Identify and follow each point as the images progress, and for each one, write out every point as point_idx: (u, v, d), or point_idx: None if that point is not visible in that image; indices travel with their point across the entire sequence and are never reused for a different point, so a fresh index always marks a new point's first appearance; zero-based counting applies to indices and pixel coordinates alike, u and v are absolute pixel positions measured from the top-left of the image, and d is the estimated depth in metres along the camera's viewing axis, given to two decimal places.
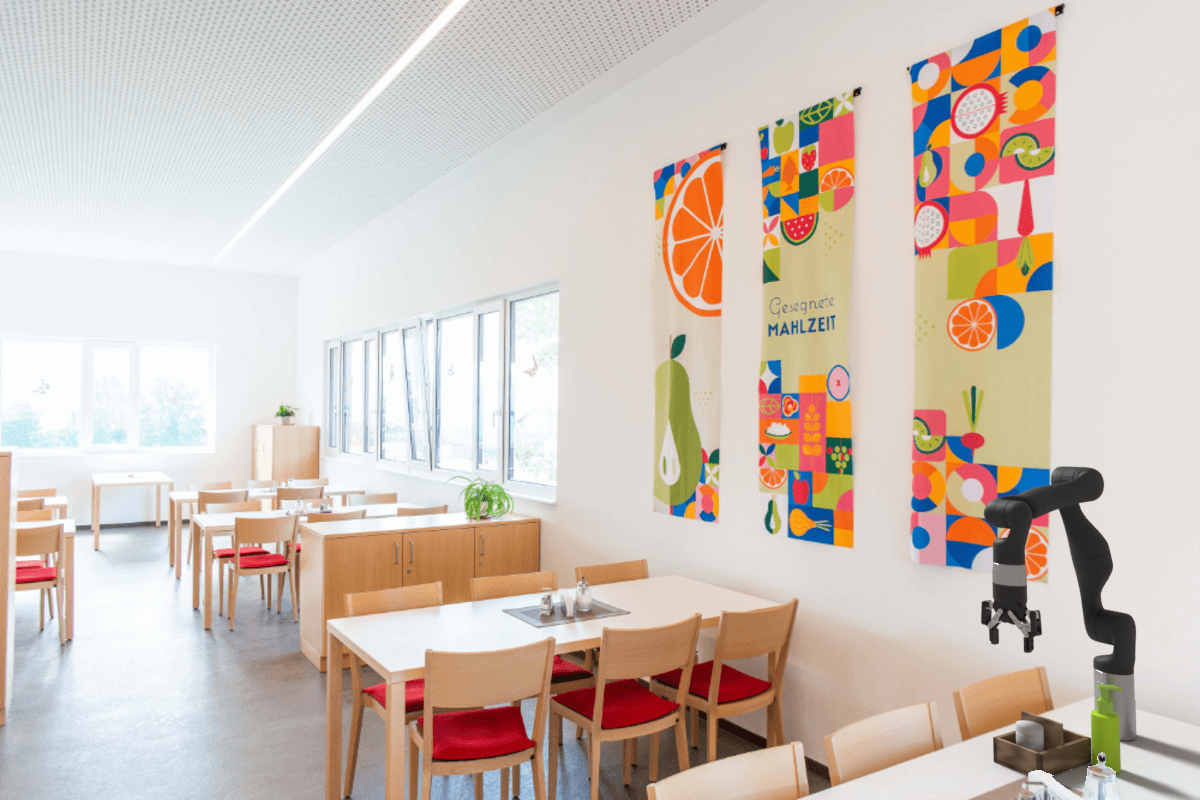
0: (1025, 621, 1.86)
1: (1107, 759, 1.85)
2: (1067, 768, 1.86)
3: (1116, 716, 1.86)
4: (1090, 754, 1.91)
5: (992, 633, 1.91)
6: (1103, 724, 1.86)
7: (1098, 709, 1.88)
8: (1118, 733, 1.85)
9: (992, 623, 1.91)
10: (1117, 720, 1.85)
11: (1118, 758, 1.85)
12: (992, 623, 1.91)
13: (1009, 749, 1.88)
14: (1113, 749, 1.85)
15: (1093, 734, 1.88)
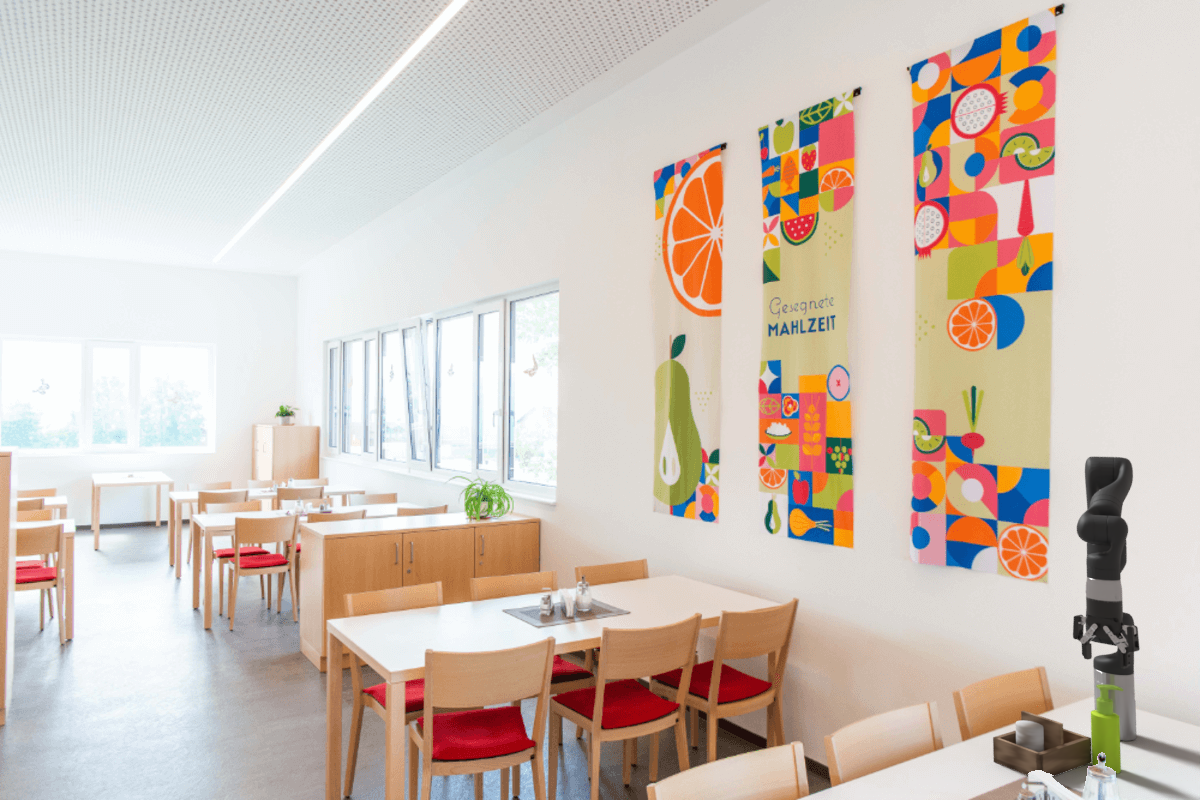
0: (1121, 636, 1.87)
1: (1107, 759, 1.85)
2: (1067, 768, 1.86)
3: (1116, 716, 1.86)
4: (1090, 754, 1.91)
5: (1085, 648, 1.92)
6: (1103, 724, 1.86)
7: (1098, 709, 1.88)
8: (1118, 733, 1.85)
9: (1085, 638, 1.92)
10: (1117, 720, 1.85)
11: (1118, 758, 1.85)
12: (1086, 638, 1.92)
13: (1009, 749, 1.88)
14: (1113, 749, 1.85)
15: (1093, 734, 1.88)
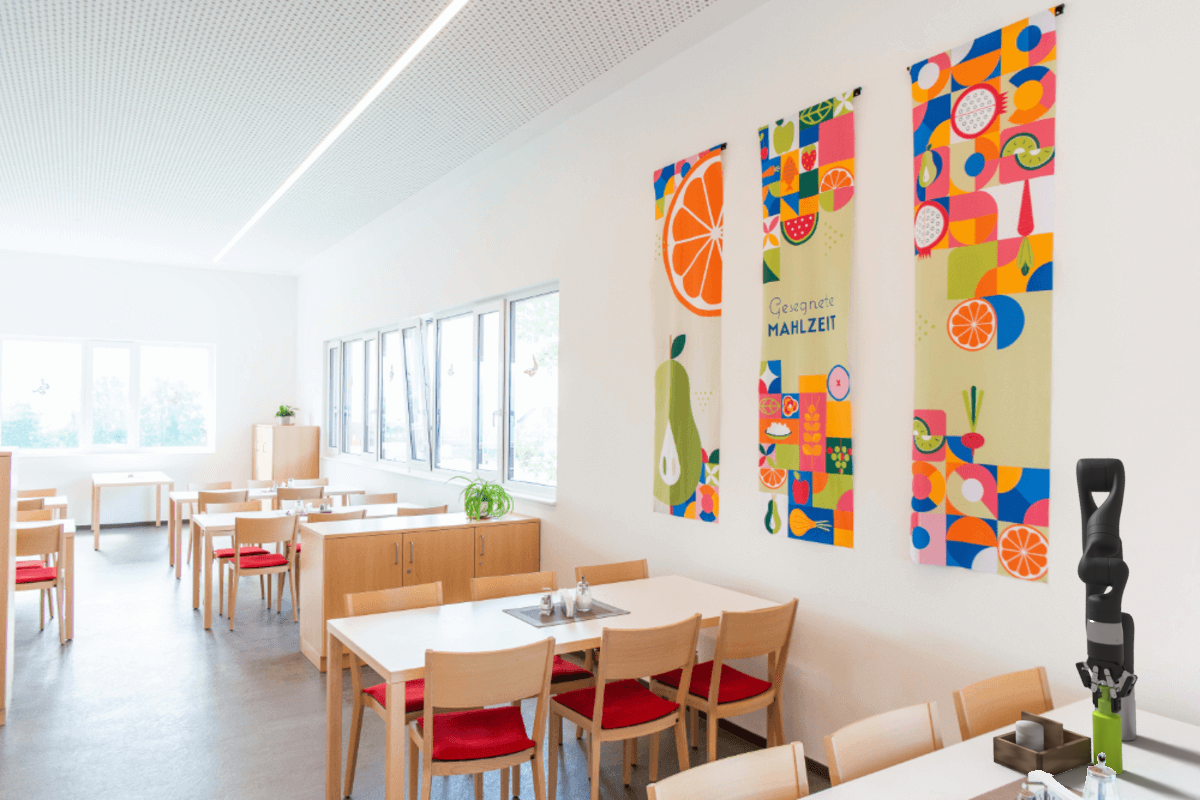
0: (1117, 680, 1.87)
1: (1109, 760, 1.85)
2: (1067, 768, 1.86)
3: (1118, 716, 1.86)
4: (1090, 754, 1.91)
5: (1096, 697, 1.89)
6: (1105, 724, 1.85)
7: (1099, 709, 1.88)
8: (1120, 733, 1.85)
9: (1096, 687, 1.89)
10: (1119, 720, 1.85)
11: (1120, 758, 1.85)
12: (1094, 685, 1.89)
13: (1009, 749, 1.88)
14: (1115, 749, 1.84)
15: (1095, 734, 1.87)
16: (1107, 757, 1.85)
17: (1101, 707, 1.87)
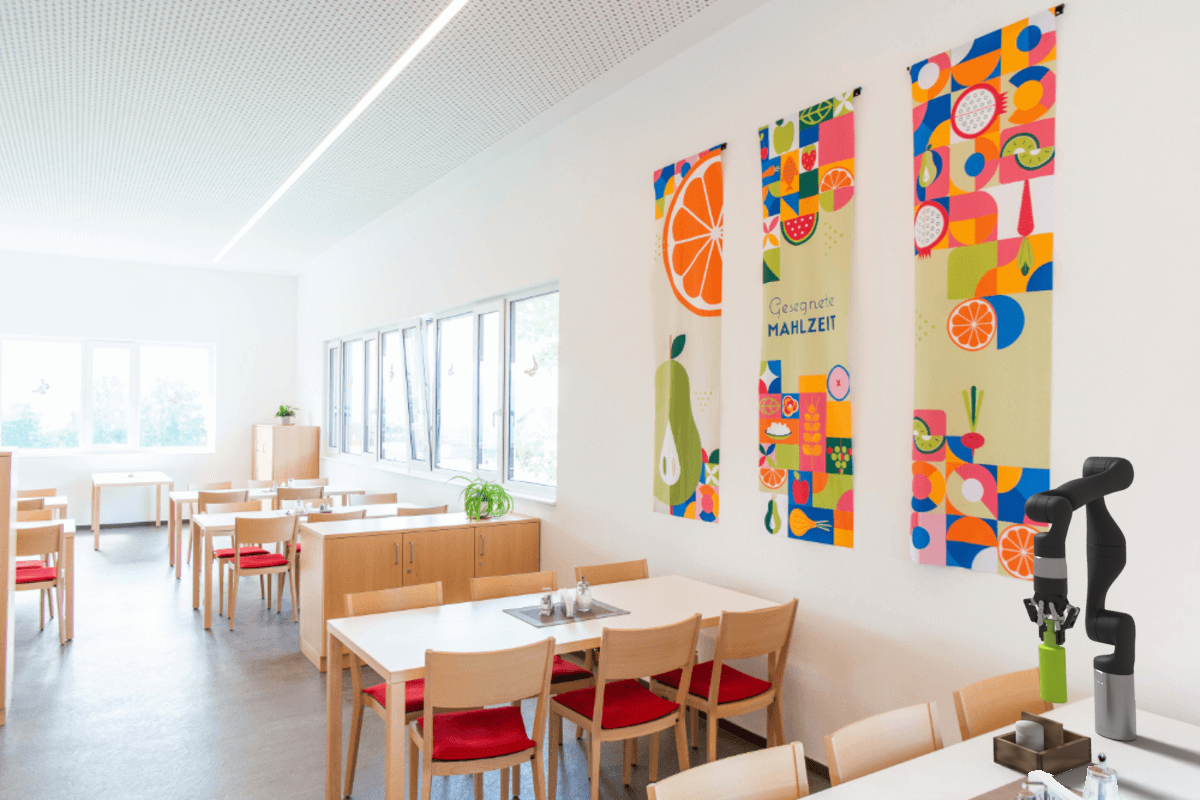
0: (1062, 614, 1.94)
1: (1054, 690, 1.91)
2: (1067, 768, 1.86)
3: (1062, 648, 1.92)
4: (1090, 754, 1.91)
5: (1042, 630, 1.96)
6: (1050, 656, 1.92)
7: (1045, 642, 1.94)
8: (1064, 664, 1.92)
9: (1042, 620, 1.96)
10: (1063, 652, 1.92)
11: (1064, 688, 1.91)
12: (1040, 619, 1.96)
13: (1009, 749, 1.88)
14: (1059, 679, 1.91)
15: (1041, 666, 1.94)
16: (1052, 687, 1.91)
17: (1046, 640, 1.94)
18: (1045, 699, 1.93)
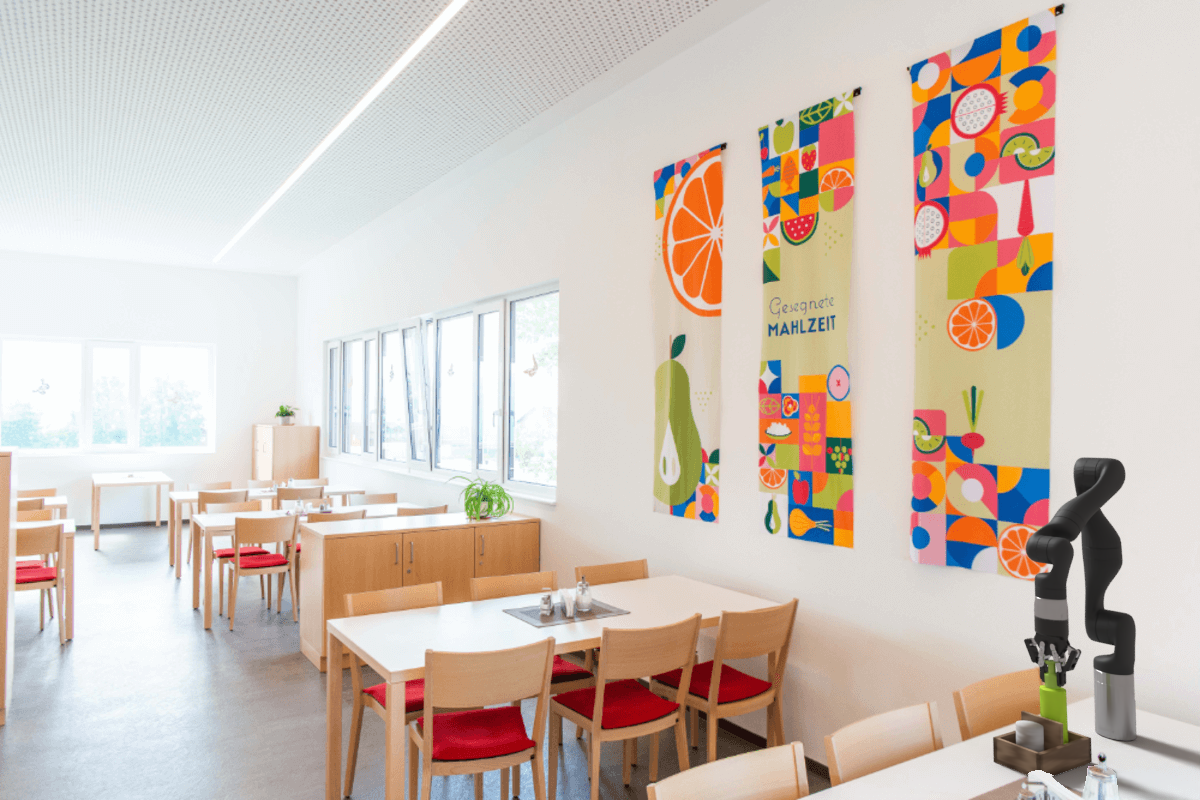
0: (1063, 655, 1.93)
1: None
2: (1067, 768, 1.86)
3: (1063, 690, 1.92)
4: (1090, 754, 1.91)
5: (1043, 671, 1.95)
6: (1051, 698, 1.91)
7: (1046, 683, 1.94)
8: (1065, 706, 1.91)
9: (1043, 661, 1.95)
10: (1064, 693, 1.91)
11: (1065, 730, 1.91)
12: (1041, 660, 1.96)
13: (1009, 749, 1.88)
14: (1060, 722, 1.91)
15: (1042, 707, 1.93)
16: None
17: (1047, 681, 1.93)
18: None
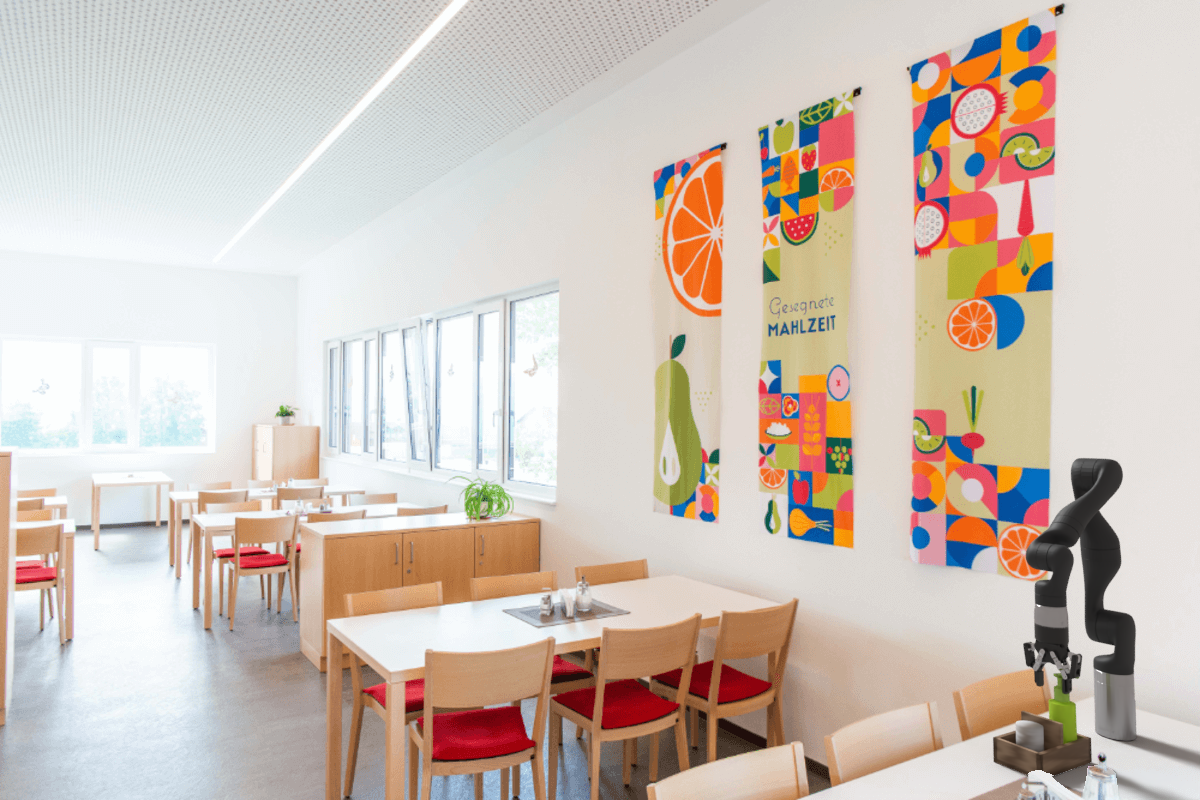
0: (1065, 662, 1.93)
1: None
2: (1067, 768, 1.86)
3: (1073, 703, 1.91)
4: (1090, 754, 1.91)
5: (1037, 675, 1.97)
6: (1061, 711, 1.91)
7: (1056, 697, 1.93)
8: (1075, 720, 1.91)
9: (1037, 666, 1.96)
10: (1074, 707, 1.91)
11: None
12: (1037, 665, 1.97)
13: (1009, 749, 1.88)
14: (1071, 736, 1.90)
15: None
16: (1064, 743, 1.90)
17: (1057, 695, 1.93)
18: None
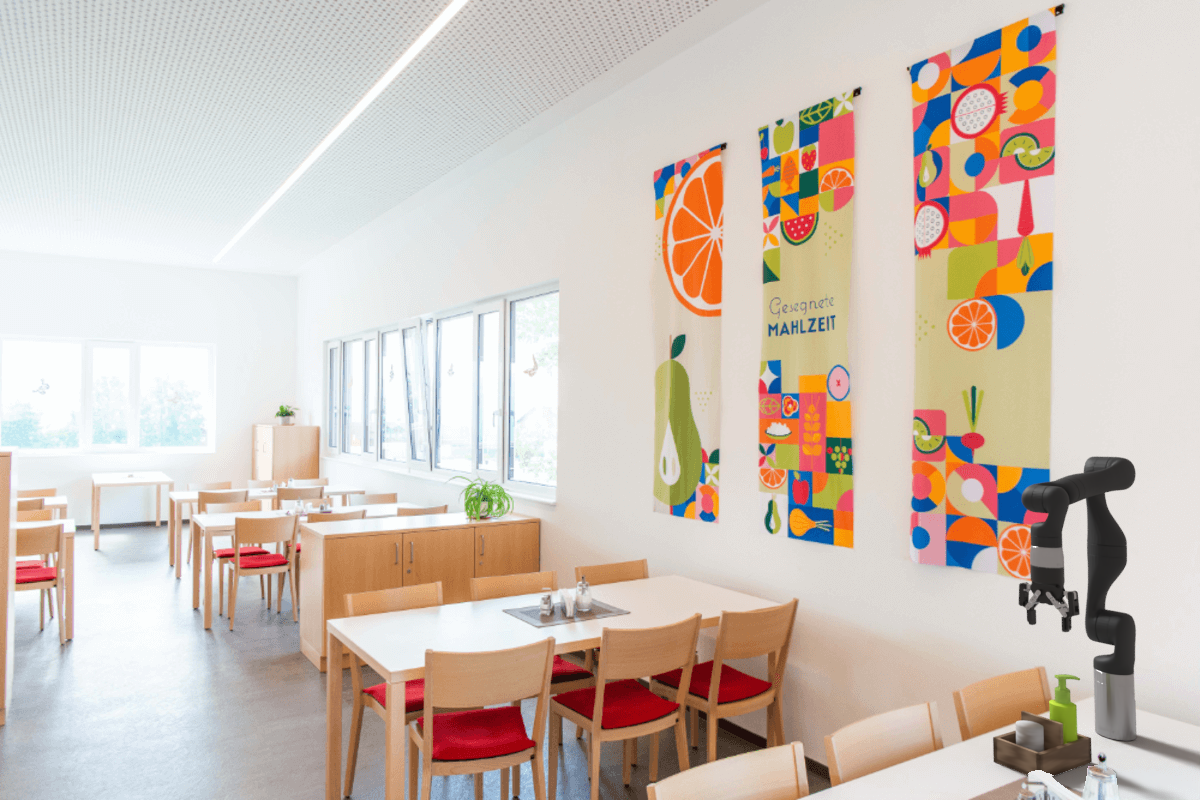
0: (1062, 602, 1.94)
1: None
2: (1067, 768, 1.86)
3: (1074, 705, 1.91)
4: (1090, 754, 1.91)
5: (1030, 614, 1.99)
6: (1062, 713, 1.90)
7: (1056, 698, 1.92)
8: (1076, 721, 1.90)
9: (1030, 604, 1.99)
10: (1075, 709, 1.90)
11: None
12: (1030, 604, 1.99)
13: (1009, 749, 1.88)
14: (1071, 737, 1.89)
15: None
16: None
17: (1058, 696, 1.92)
18: None
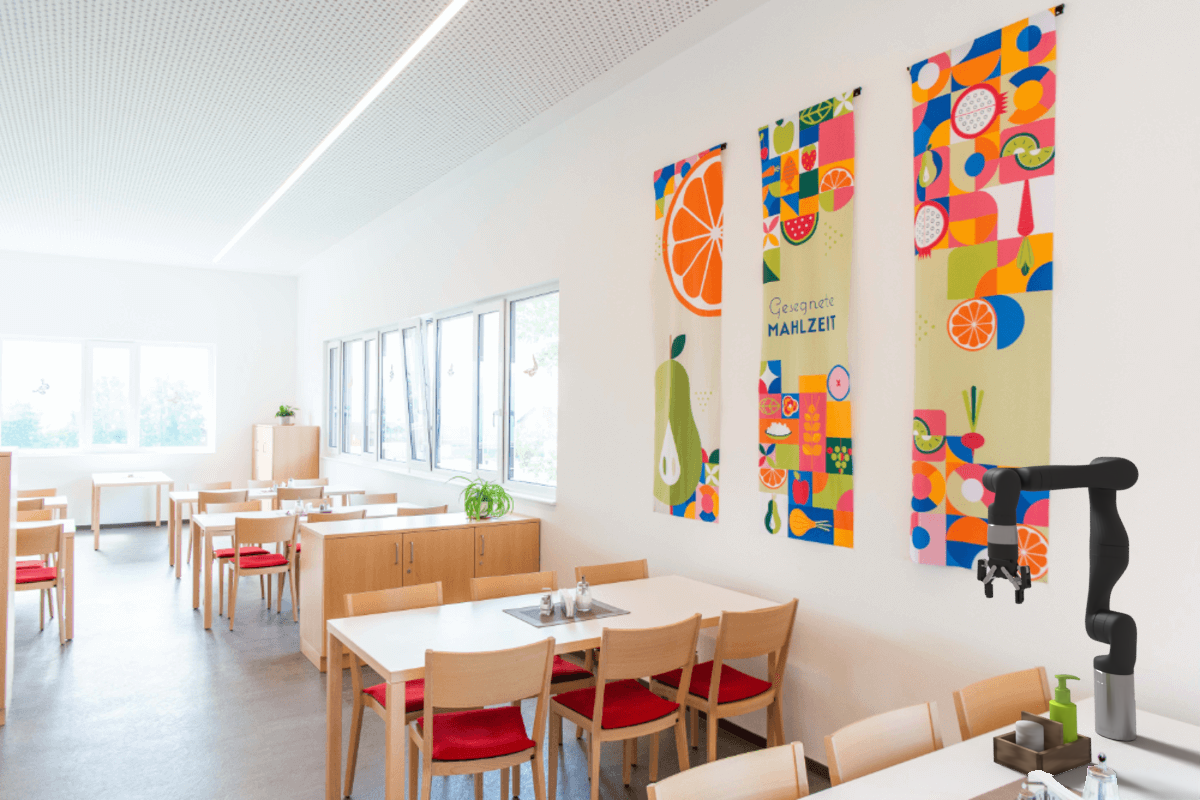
0: (1016, 576, 2.08)
1: None
2: (1067, 768, 1.86)
3: (1074, 705, 1.91)
4: (1090, 754, 1.91)
5: (987, 588, 2.13)
6: (1062, 713, 1.90)
7: (1056, 698, 1.92)
8: (1076, 721, 1.90)
9: (987, 579, 2.13)
10: (1075, 709, 1.90)
11: None
12: (987, 579, 2.13)
13: (1009, 749, 1.88)
14: (1071, 737, 1.89)
15: None
16: None
17: (1058, 696, 1.92)
18: None
